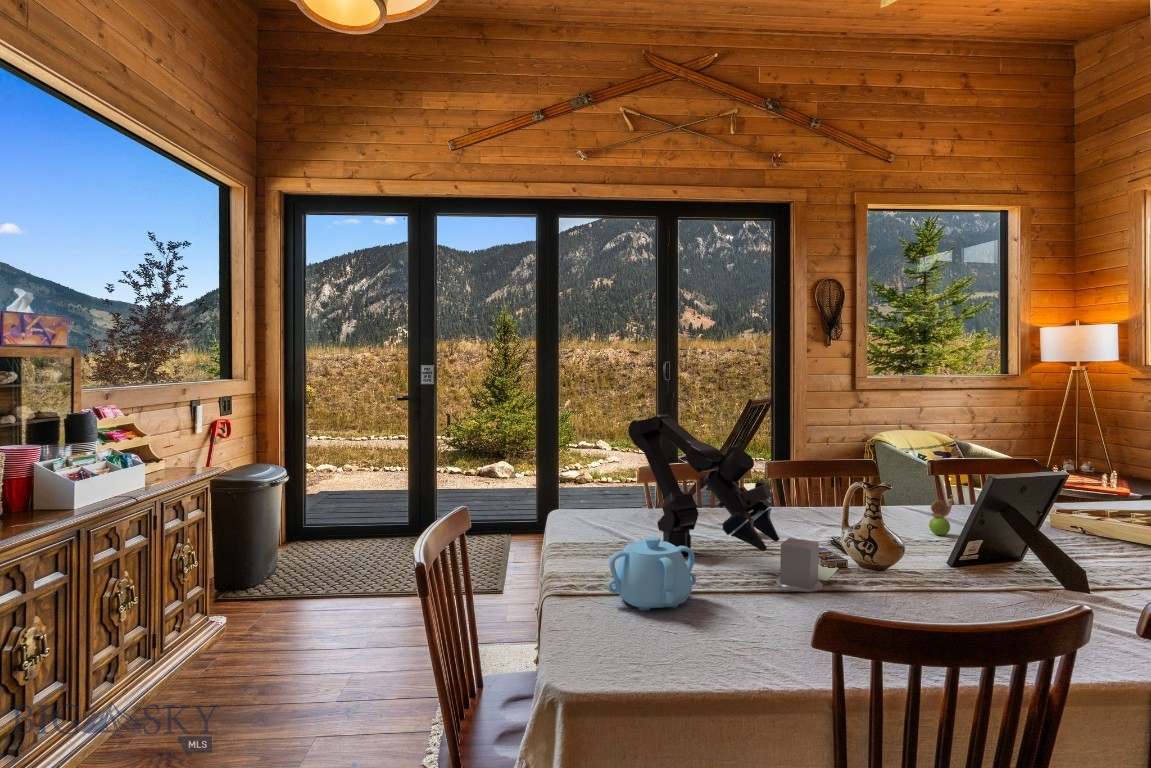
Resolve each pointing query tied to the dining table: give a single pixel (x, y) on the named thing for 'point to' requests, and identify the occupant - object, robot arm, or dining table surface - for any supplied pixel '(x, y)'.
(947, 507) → the snail figurine
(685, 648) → the dining table surface
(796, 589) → the knob on round base
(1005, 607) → the dining table surface
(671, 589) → the decorative pot
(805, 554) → the grey block
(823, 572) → the mat
